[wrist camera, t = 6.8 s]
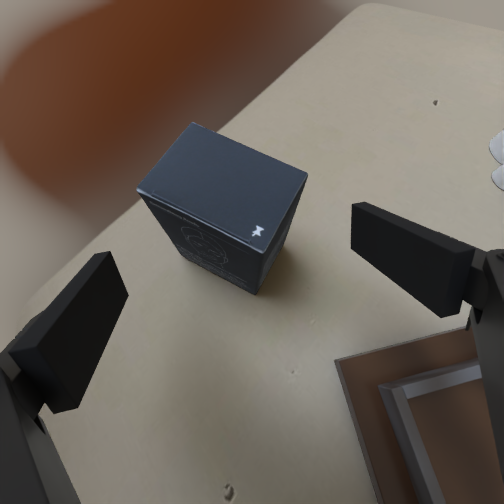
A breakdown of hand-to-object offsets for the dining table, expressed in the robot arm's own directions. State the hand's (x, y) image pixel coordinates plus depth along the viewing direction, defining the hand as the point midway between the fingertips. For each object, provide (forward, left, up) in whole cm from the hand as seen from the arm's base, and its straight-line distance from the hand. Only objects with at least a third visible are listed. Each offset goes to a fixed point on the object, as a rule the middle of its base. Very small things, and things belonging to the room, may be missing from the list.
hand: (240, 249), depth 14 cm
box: (0, +3, -9) cm, 10 cm away
